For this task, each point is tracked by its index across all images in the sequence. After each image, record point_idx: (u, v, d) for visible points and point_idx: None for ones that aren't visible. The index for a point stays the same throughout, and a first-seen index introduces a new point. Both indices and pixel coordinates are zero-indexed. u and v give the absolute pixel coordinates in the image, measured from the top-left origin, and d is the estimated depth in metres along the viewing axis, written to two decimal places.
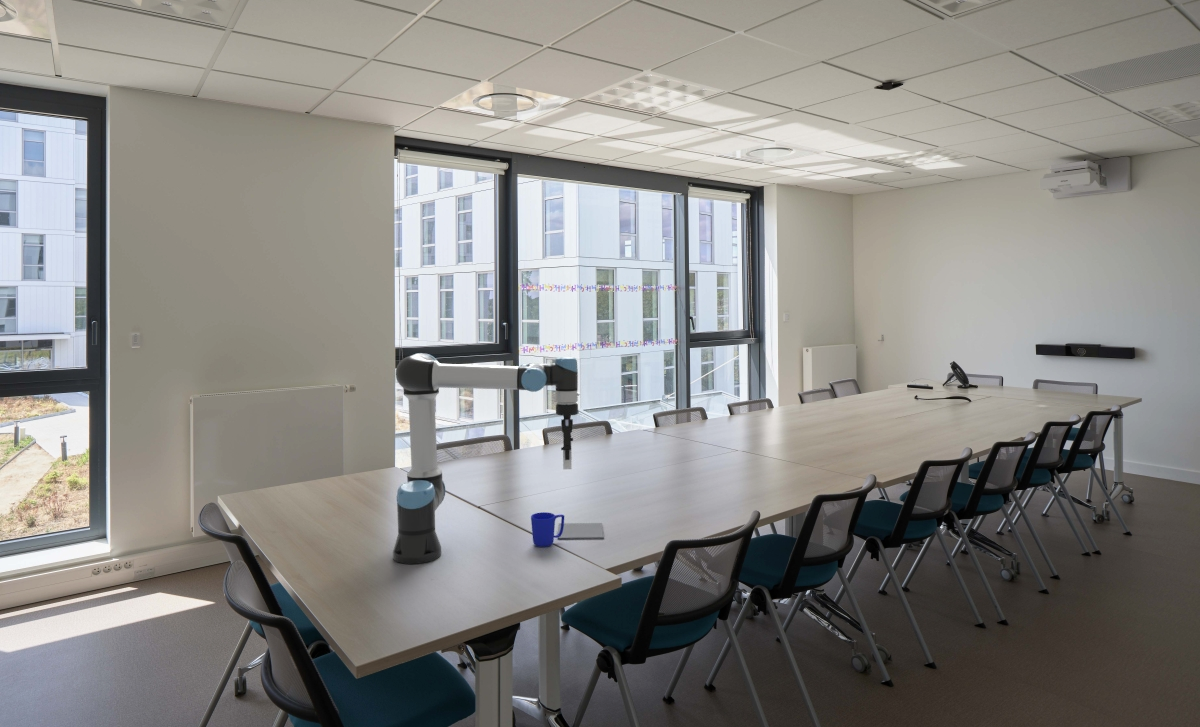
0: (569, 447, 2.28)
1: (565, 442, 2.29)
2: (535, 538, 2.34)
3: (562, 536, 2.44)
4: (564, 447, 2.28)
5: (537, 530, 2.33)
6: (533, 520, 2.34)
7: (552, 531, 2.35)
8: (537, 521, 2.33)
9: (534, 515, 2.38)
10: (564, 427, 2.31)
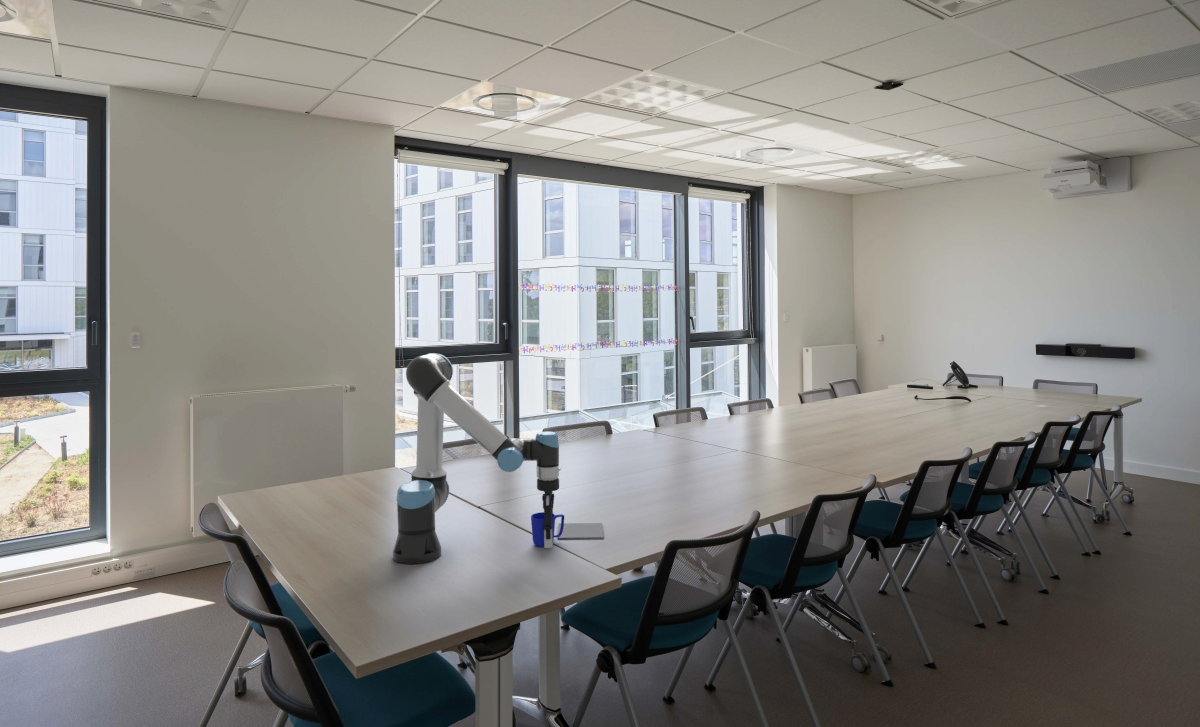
0: (550, 528, 2.29)
1: (546, 522, 2.30)
2: (535, 538, 2.34)
3: (562, 536, 2.44)
4: (545, 528, 2.29)
5: (537, 530, 2.33)
6: (533, 520, 2.34)
7: (552, 531, 2.35)
8: (537, 521, 2.33)
9: (534, 515, 2.38)
10: (545, 507, 2.30)
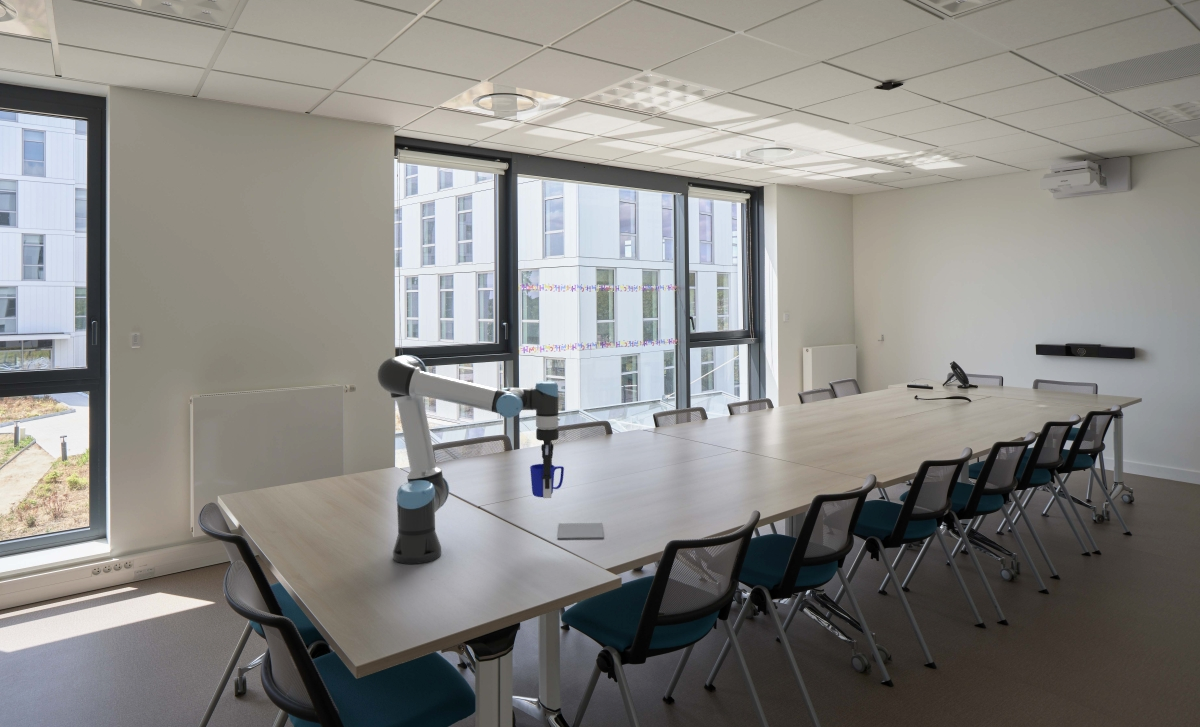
0: (549, 477, 2.29)
1: (545, 472, 2.29)
2: (534, 488, 2.34)
3: (562, 536, 2.44)
4: (544, 477, 2.29)
5: (536, 480, 2.33)
6: (532, 470, 2.33)
7: (551, 481, 2.34)
8: (536, 470, 2.32)
9: (533, 466, 2.38)
10: (544, 456, 2.29)
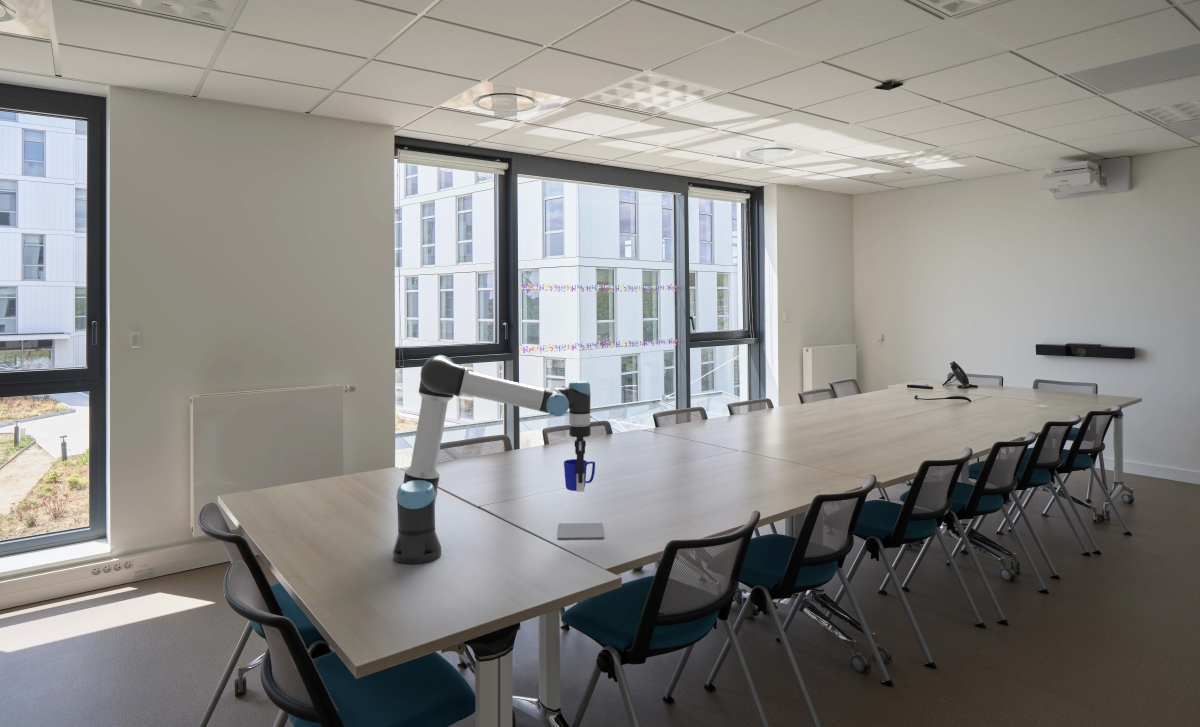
0: (582, 471, 2.41)
1: (578, 467, 2.41)
2: (568, 482, 2.46)
3: (562, 536, 2.44)
4: (577, 471, 2.41)
5: (570, 475, 2.45)
6: (566, 465, 2.46)
7: (584, 476, 2.47)
8: (570, 465, 2.44)
9: (566, 461, 2.50)
10: (577, 452, 2.41)
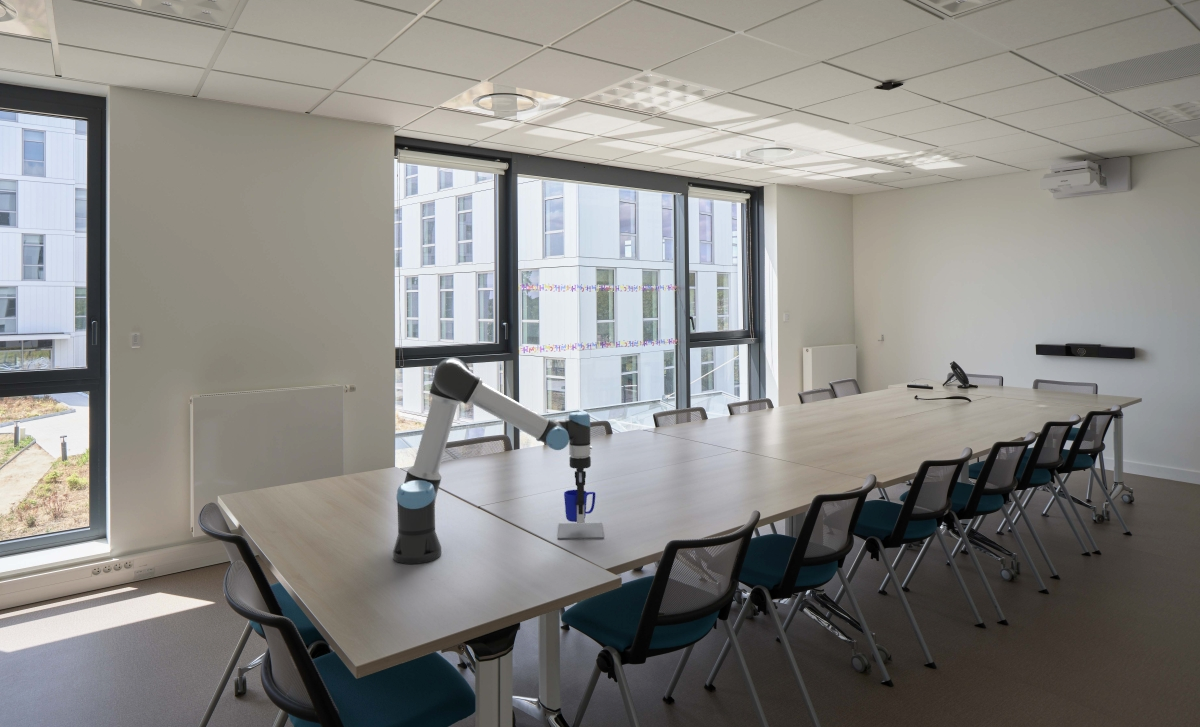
0: (582, 503, 2.42)
1: (579, 498, 2.42)
2: (568, 513, 2.47)
3: (562, 536, 2.44)
4: (578, 503, 2.42)
5: (570, 506, 2.46)
6: (566, 496, 2.47)
7: (584, 507, 2.48)
8: (570, 497, 2.45)
9: (567, 492, 2.51)
10: (578, 484, 2.42)
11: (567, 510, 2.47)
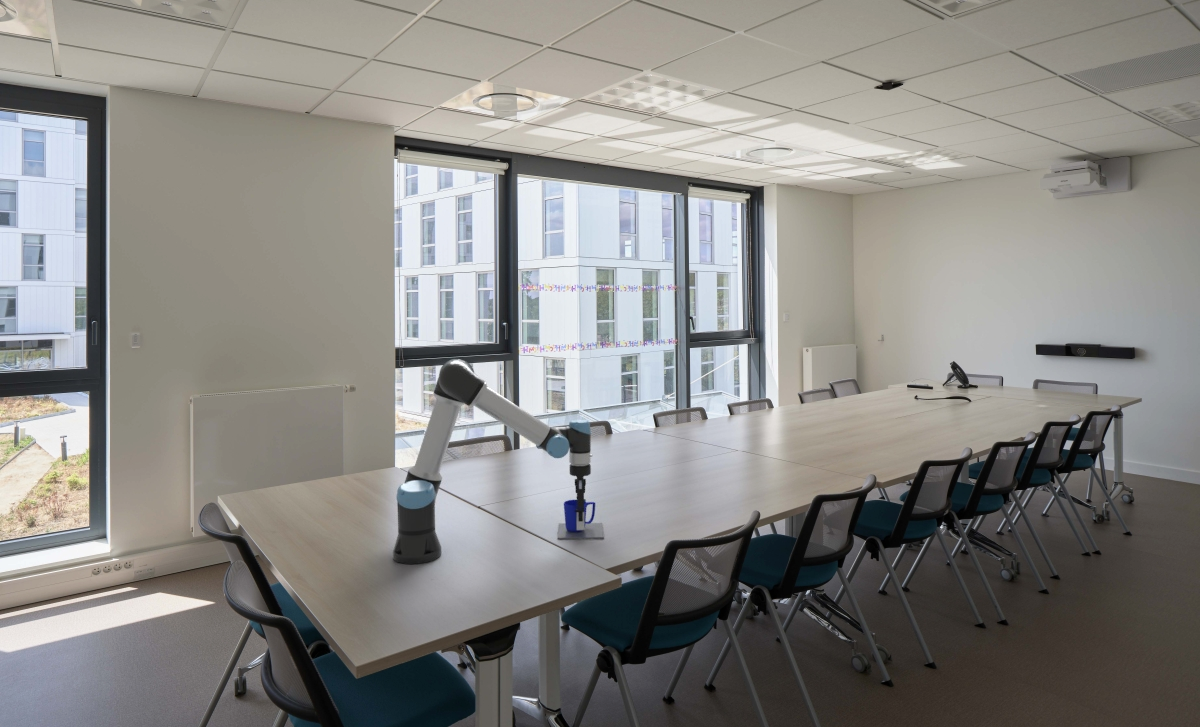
0: (582, 510, 2.41)
1: (579, 505, 2.41)
2: (567, 523, 2.48)
3: (562, 536, 2.44)
4: (578, 510, 2.41)
5: (569, 516, 2.47)
6: (566, 506, 2.47)
7: (584, 517, 2.48)
8: (569, 507, 2.46)
9: (567, 502, 2.52)
10: (578, 490, 2.42)
11: (566, 520, 2.48)
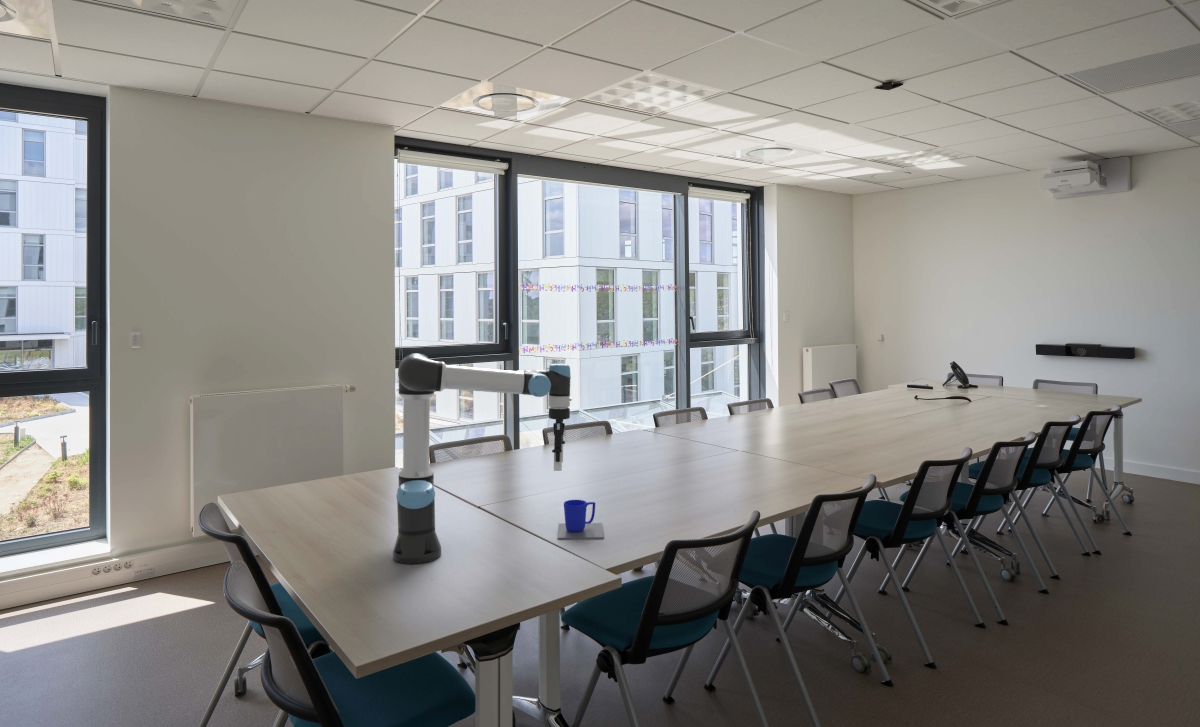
0: (559, 450, 2.39)
1: (556, 445, 2.40)
2: (567, 523, 2.48)
3: (562, 536, 2.44)
4: (555, 449, 2.39)
5: (569, 516, 2.47)
6: (566, 506, 2.47)
7: (583, 517, 2.48)
8: (569, 507, 2.46)
9: (567, 502, 2.52)
10: (555, 430, 2.42)
11: (566, 520, 2.48)
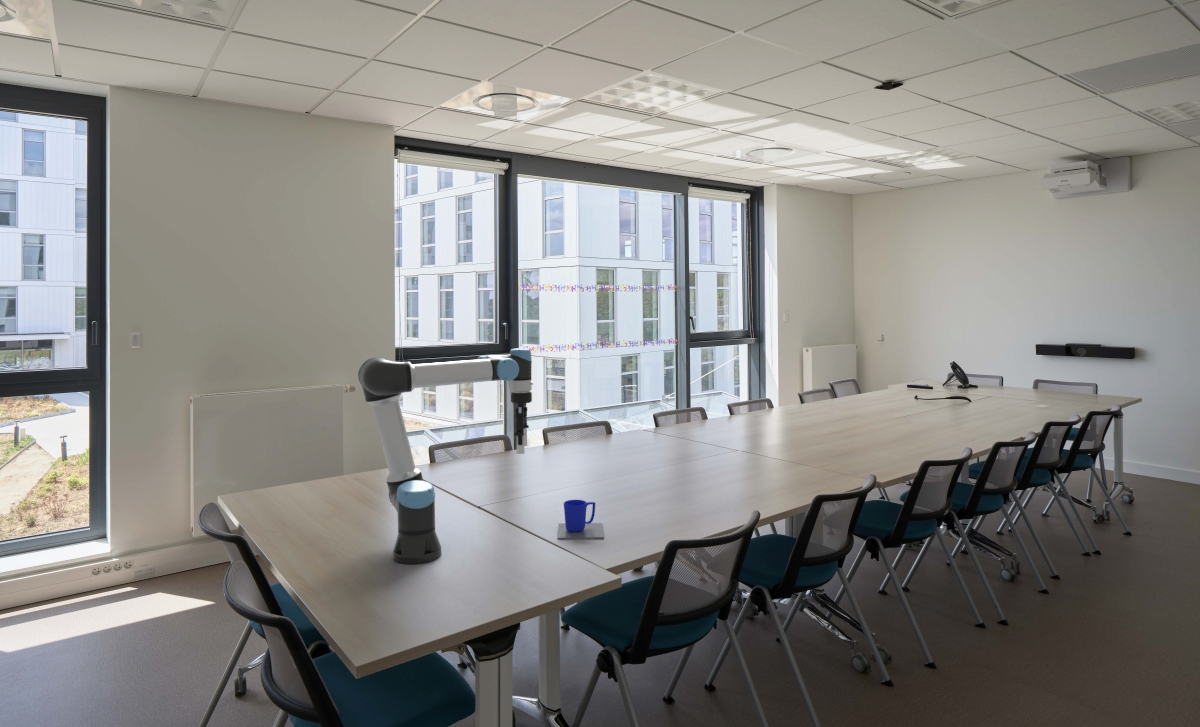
0: (521, 433, 2.43)
1: (518, 428, 2.43)
2: (567, 523, 2.48)
3: (562, 536, 2.44)
4: (517, 433, 2.43)
5: (569, 516, 2.47)
6: (566, 506, 2.47)
7: (583, 517, 2.48)
8: (569, 507, 2.46)
9: (567, 502, 2.52)
10: (517, 414, 2.45)
11: (566, 520, 2.48)
